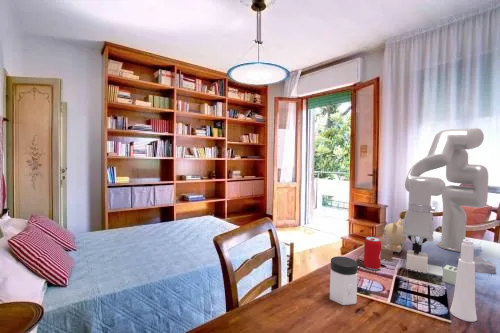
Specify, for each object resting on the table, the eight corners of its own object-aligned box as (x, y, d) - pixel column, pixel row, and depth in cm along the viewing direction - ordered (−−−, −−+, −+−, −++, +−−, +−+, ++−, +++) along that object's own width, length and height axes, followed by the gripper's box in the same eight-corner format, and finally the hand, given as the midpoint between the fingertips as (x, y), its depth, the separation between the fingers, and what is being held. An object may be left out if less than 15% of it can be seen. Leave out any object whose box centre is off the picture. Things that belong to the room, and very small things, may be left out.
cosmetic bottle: (445, 308, 79) (449, 236, 78) (465, 309, 79) (470, 237, 78) (460, 321, 73) (465, 243, 72) (482, 322, 73) (487, 244, 72)
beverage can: (382, 267, 108) (383, 238, 107) (377, 272, 103) (378, 242, 102) (366, 263, 112) (367, 235, 111) (361, 267, 107) (362, 238, 107)
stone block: (471, 277, 105) (499, 274, 103) (469, 265, 105) (497, 262, 103) (453, 265, 117) (479, 263, 115) (451, 255, 117) (477, 252, 115)
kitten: (387, 244, 136) (389, 215, 135) (409, 249, 129) (411, 219, 128) (377, 251, 126) (378, 220, 125) (400, 257, 119) (402, 225, 118)
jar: (336, 306, 79) (338, 267, 78) (323, 292, 87) (324, 257, 86) (363, 303, 81) (364, 265, 80) (347, 290, 89) (349, 255, 88)
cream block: (407, 263, 113) (407, 249, 112) (426, 267, 109) (427, 253, 108) (406, 269, 107) (406, 254, 106) (426, 274, 103) (427, 259, 103)
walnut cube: (379, 255, 121) (379, 244, 121) (391, 257, 119) (391, 246, 119) (379, 259, 117) (380, 247, 116) (392, 261, 115) (392, 249, 114)
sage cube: (445, 277, 100) (446, 264, 100) (462, 282, 96) (463, 268, 96) (442, 281, 97) (443, 267, 97) (459, 286, 93) (460, 272, 93)
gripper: (442, 209, 105) (439, 255, 106) (399, 204, 114) (397, 246, 115) (441, 212, 99) (438, 260, 100) (396, 207, 109) (394, 250, 109)
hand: (416, 252), depth 108 cm, fingers closed
